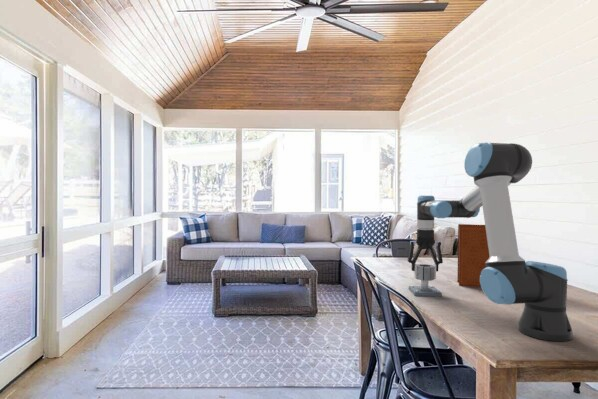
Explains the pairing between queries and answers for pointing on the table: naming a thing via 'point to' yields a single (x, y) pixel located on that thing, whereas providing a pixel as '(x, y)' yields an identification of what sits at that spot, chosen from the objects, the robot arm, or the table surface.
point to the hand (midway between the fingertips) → (424, 278)
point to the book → (471, 254)
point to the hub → (425, 272)
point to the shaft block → (424, 290)
